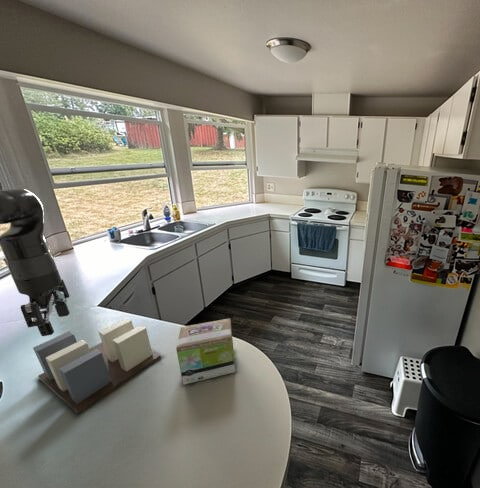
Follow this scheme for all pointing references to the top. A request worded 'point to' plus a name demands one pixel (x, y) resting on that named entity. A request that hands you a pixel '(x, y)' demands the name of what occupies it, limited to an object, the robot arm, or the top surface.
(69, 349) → the cream book
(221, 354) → the tea box
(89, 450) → the top surface
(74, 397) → the grey book
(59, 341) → the grey book
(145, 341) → the cream book
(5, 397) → the top surface
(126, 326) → the cream book
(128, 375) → the shelf board
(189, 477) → the top surface
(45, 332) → the robot arm
